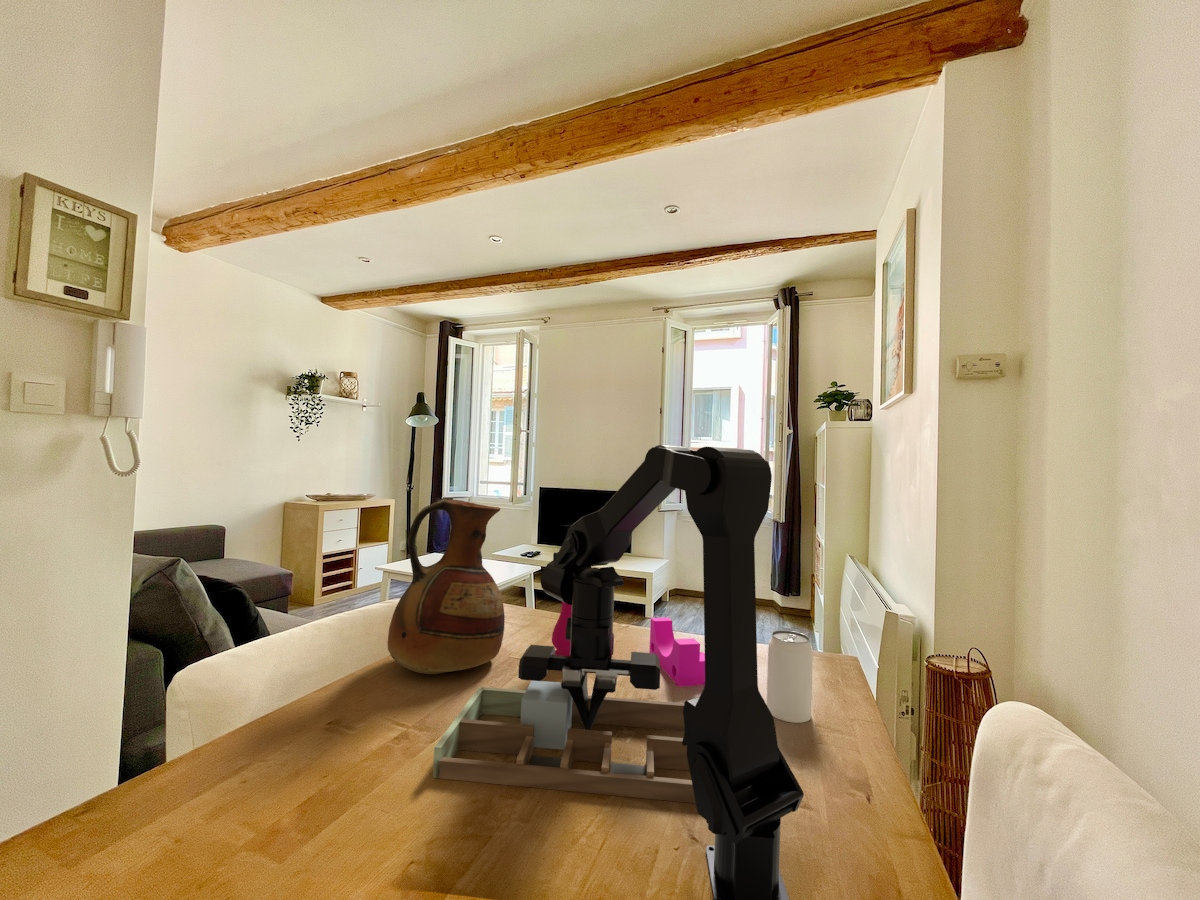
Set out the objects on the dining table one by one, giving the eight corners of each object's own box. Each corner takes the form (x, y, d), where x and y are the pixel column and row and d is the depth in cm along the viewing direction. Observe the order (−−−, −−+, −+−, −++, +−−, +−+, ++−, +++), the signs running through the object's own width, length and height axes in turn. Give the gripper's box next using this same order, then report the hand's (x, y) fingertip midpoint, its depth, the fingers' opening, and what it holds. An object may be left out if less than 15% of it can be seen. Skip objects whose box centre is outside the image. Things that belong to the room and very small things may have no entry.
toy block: (711, 687, 88) (713, 643, 88) (678, 689, 86) (679, 644, 86) (678, 654, 102) (680, 617, 102) (649, 656, 101) (650, 618, 101)
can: (762, 717, 77) (765, 637, 77) (770, 701, 83) (772, 626, 83) (808, 729, 74) (811, 646, 74) (813, 711, 80) (815, 634, 80)
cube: (564, 749, 66) (566, 703, 66) (519, 745, 67) (521, 699, 67) (571, 726, 72) (573, 683, 72) (529, 722, 73) (531, 680, 73)
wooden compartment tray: (722, 805, 56) (723, 773, 56) (432, 777, 59) (434, 747, 59) (704, 729, 73) (705, 705, 73) (478, 710, 75) (479, 686, 75)
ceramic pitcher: (512, 679, 87) (520, 504, 88) (384, 694, 79) (394, 502, 80) (492, 640, 105) (499, 495, 106) (387, 650, 97) (395, 494, 98)
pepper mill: (545, 657, 97) (550, 552, 98) (580, 653, 100) (584, 551, 101) (558, 672, 90) (563, 559, 91) (595, 667, 93) (600, 558, 94)
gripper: (659, 602, 76) (655, 707, 76) (537, 594, 78) (533, 697, 78) (662, 625, 65) (657, 748, 65) (519, 616, 67) (514, 736, 67)
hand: (588, 729), depth 69 cm, fingers closed
